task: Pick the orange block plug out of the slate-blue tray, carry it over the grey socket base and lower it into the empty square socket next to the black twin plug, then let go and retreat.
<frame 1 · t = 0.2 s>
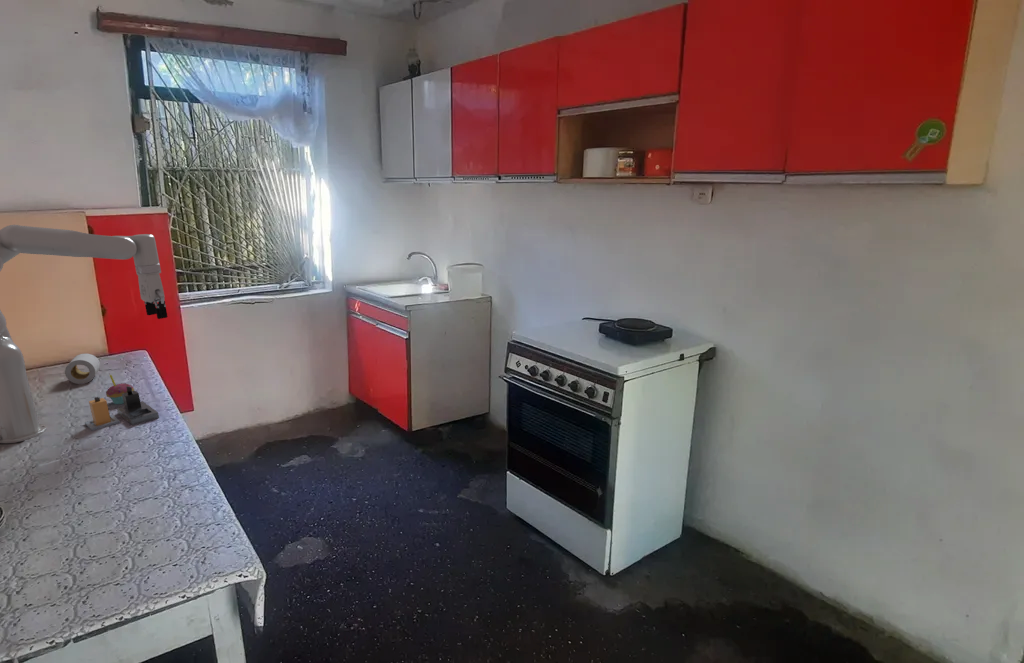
hand: (157, 316, 212), 31 cm above the table, fingers open, 9 cm apart
plug: (102, 423, 195), resting on tray
grey socket base: (138, 416, 201), on the table
cupcake: (122, 403, 215), on the table
toilet paper: (85, 380, 241), on the table
tray: (102, 424, 195), on the table
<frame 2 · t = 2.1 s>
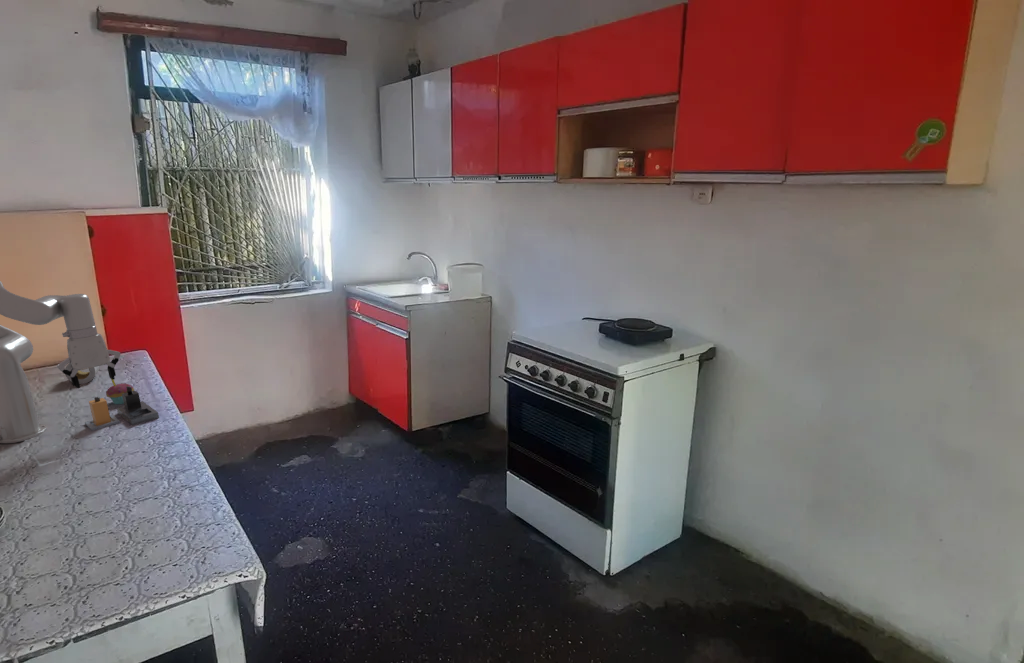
hand: (95, 382, 192), 15 cm above the table, fingers open, 9 cm apart
nothing on the table moved.
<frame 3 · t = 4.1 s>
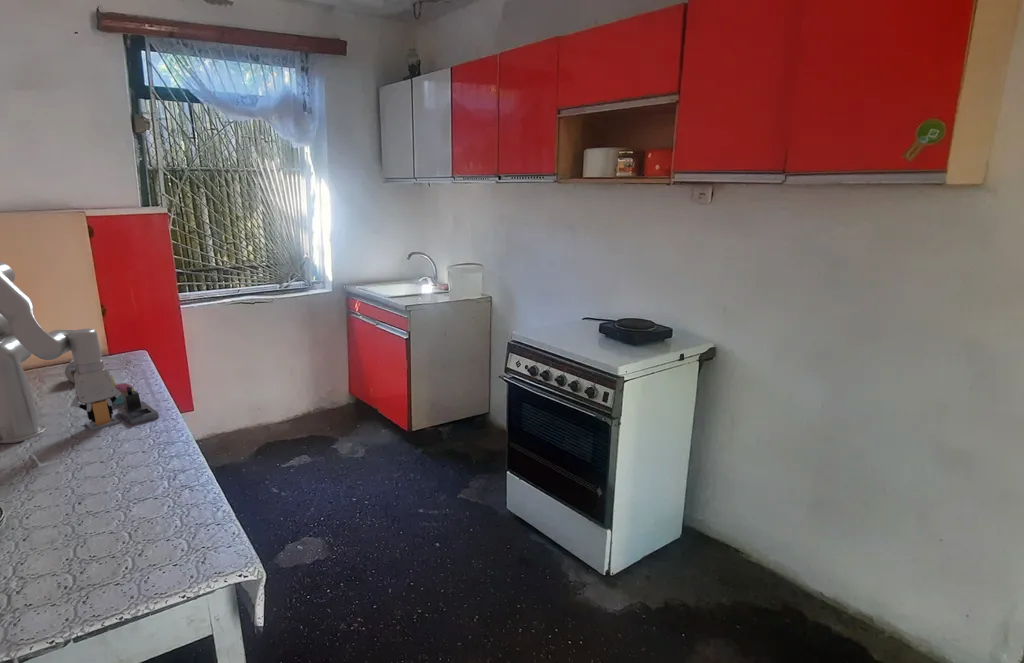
hand: (101, 418, 195), 2 cm above the table, fingers closed on plug, 4 cm apart
plug: (102, 423, 195), point 1 cm above the table, touching gripper, tray
everything else where it was.
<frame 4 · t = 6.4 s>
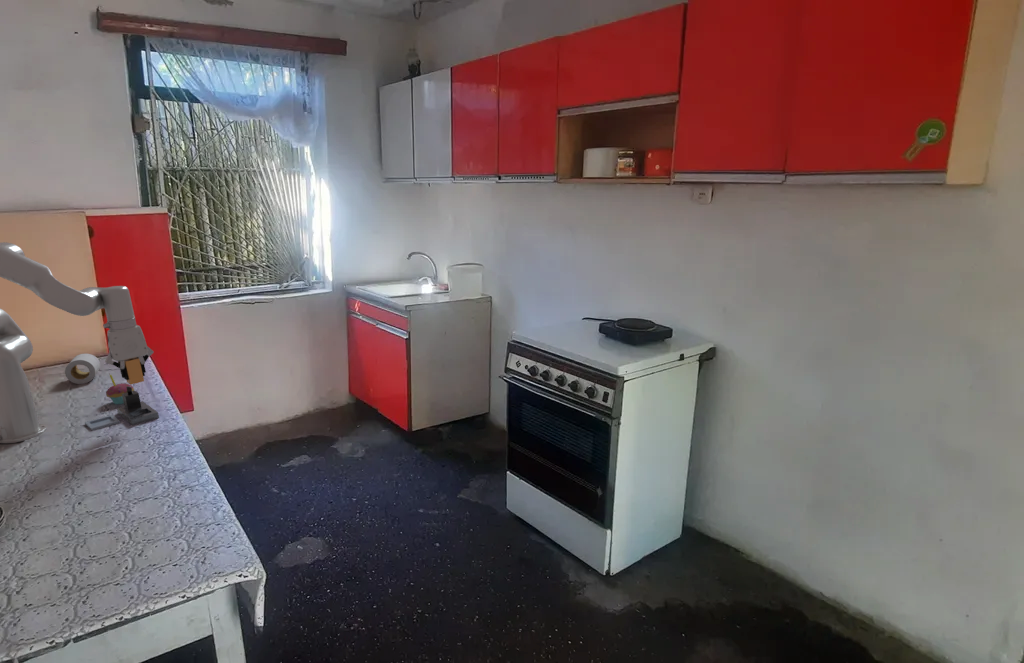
hand: (134, 376, 195), 15 cm above the table, fingers closed on plug, 4 cm apart
plug: (135, 381, 195), point 14 cm above the table, touching gripper
everything else where it was.
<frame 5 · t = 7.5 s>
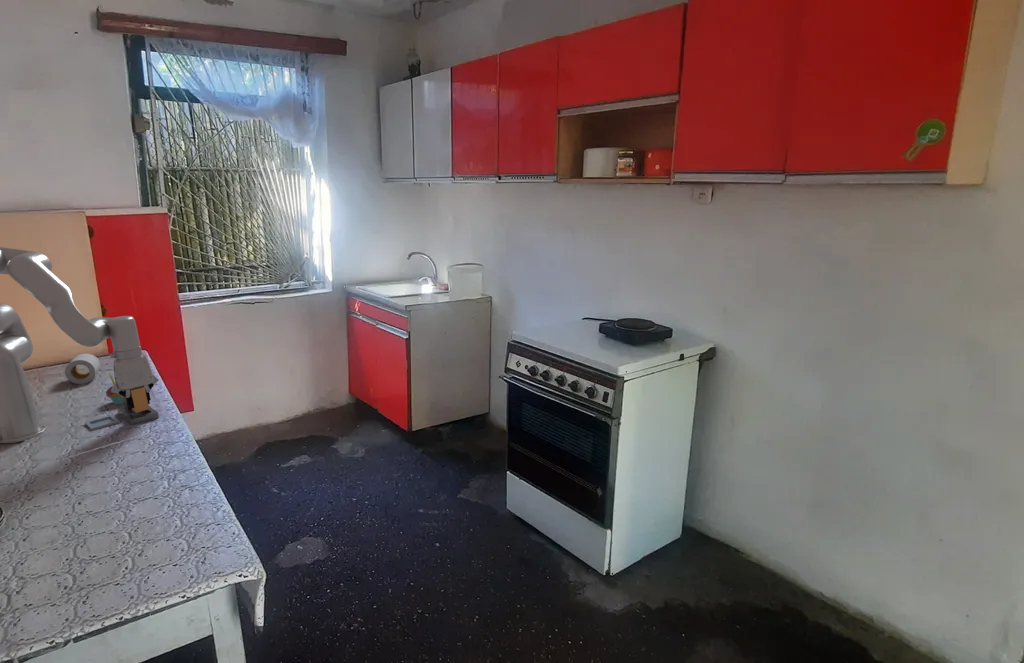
hand: (139, 404, 197), 5 cm above the table, fingers closed on plug, 4 cm apart
plug: (140, 409, 198), point 4 cm above the table, touching gripper
everything else where it was.
when the fingers open (3 cm above the table, at t = 8.5 s): plug drops 2 cm, resting in grey socket base.
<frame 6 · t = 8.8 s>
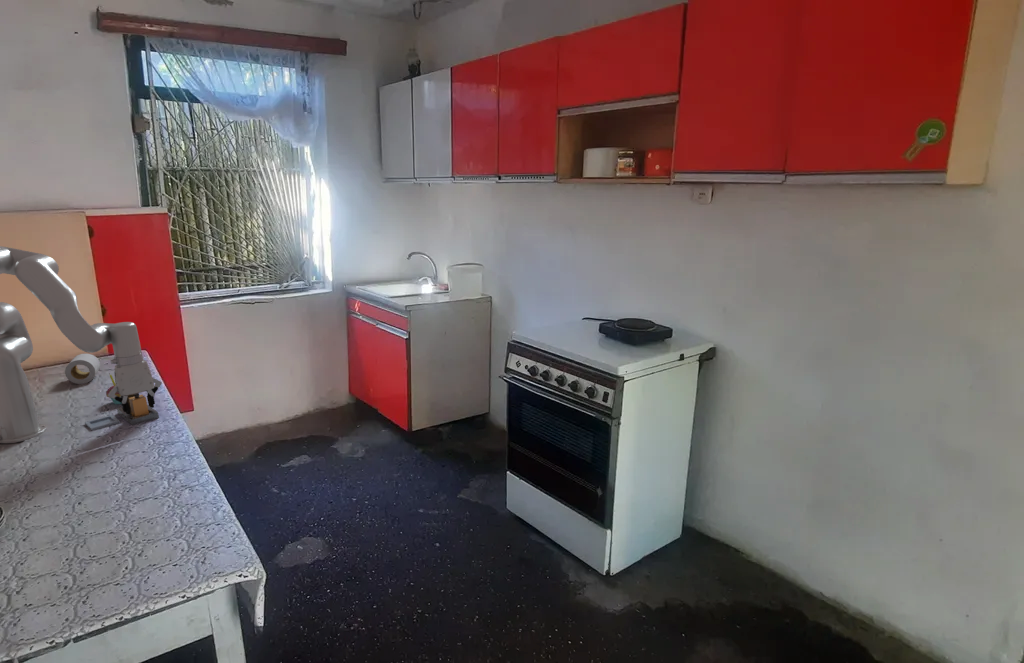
hand: (139, 409, 198), 4 cm above the table, fingers open, 6 cm apart
plug: (141, 419, 199), resting in grey socket base
everything else where it was.
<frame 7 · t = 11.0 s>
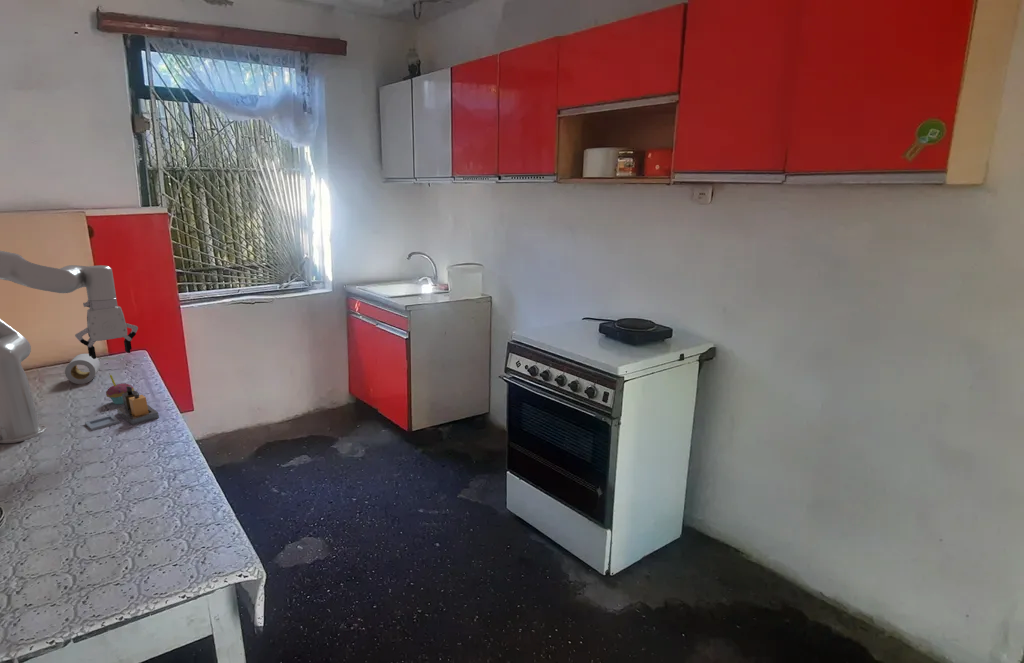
hand: (111, 355, 193), 23 cm above the table, fingers open, 9 cm apart
nothing on the table moved.
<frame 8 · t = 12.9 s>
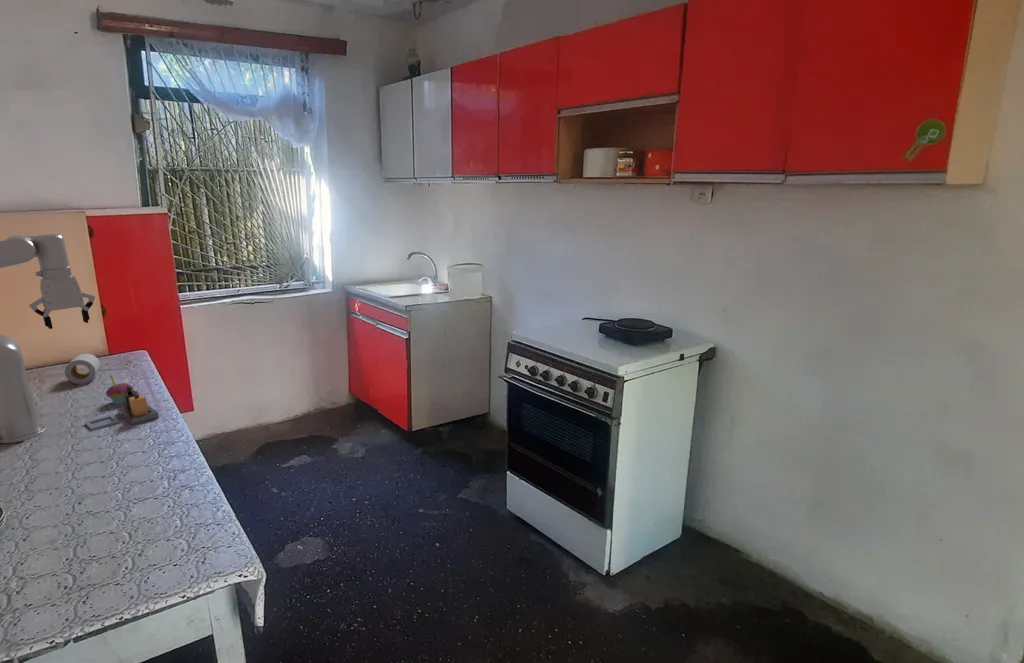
hand: (68, 325, 191), 33 cm above the table, fingers open, 9 cm apart
nothing on the table moved.
at the end: plug 0.1 cm from the target spot on the grey socket base, point 0.0 cm above the grey socket base's base; plug tilted 0°; the gripper is holding nothing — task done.
